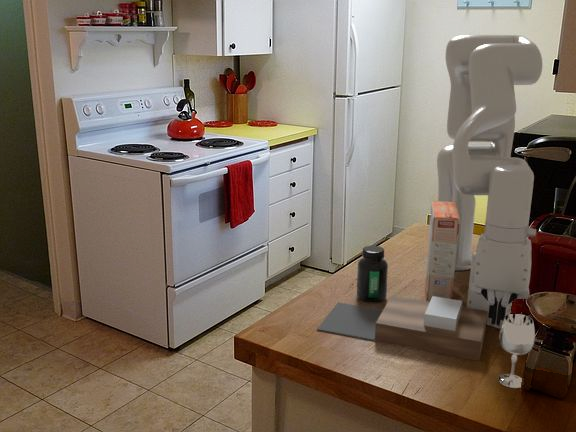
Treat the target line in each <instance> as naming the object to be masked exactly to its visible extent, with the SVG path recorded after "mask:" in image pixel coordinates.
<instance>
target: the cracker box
mask: <svg viewBox="0 0 576 432" xmlns="http://www.w3.org/2000/svg"><path fill="white" fill-rule="evenodd" d="M429 218H430V220H429V232H428V234H429V235H428V242H427V243H428V244H427V255H426V268H425V270H426V271H425V279H424V283H425V284H424V285H425V301H428V302H430V301H431V298H432V296H435V297H441V298H448V299H453V290H454V281H455V280H454V279H455V271H456V270H455V261H456V251H457V240H458V231H459V221H460V219H459V215H458V211H457V206H456V203H454V202H439V201H438V200H437V201H436V200H434V201H433V200H432V201H431V205H430V217H429Z"/></svg>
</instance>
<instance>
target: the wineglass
mask: <svg viewBox="0 0 576 432" xmlns="http://www.w3.org/2000/svg"><path fill="white" fill-rule="evenodd" d="M498 340H499V344H500V346H501V348H502V349H503V350H504V351H505V352H507V353H509V354H511V357H510V360H511V369H510V370H511V372H510V373H502V374H501V375H500V374H499V376H498V378H497V381H498V382H499V384H501V385H502V386H504V387H507V388H512V389H521V388H522V387H521V382H522V379H523V378H522V377H521V376H519V375H516V374H515V367H516V363H517V362H518V356H522V355H526V354H528V353H530V352H531V350H532V349H533V348H534V345H535V343H536V341H535V340H536V329H535V324H534V320H533V318H531V317H530V316H528V315H525V314H522V313H521V314H508V315H506V316H505V318H504V320H503V322H502V325H501V328H500V329H499V333H498ZM532 347H533V348H532Z"/></svg>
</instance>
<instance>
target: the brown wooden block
mask: <svg viewBox="0 0 576 432" xmlns="http://www.w3.org/2000/svg"><path fill="white" fill-rule="evenodd" d="M429 303H430V302H428V301H426V300H421V299H415V298H414V299H413V298H409V297H408V298H407V297H402V296H398V295H397V296H395V295H391V297H390V298H389V300H388V301H387V304H386V305H385V306H384V309H382V310H383V311H382V313H381V315H380V316H379V318H378V320H377V322H376V326H375V340H374V342H379V343H382V344H388V345H393V346H399V347H403V348H410V349H415V350H419V351H425V352H430V353H436V354H440V355H446V356H450V357H451V356H452V357H457V358H462V359H468V360H473V361H476V362H477V361H478V362H480V359H481V353H482V349H483V344H484V339H485V334H486V331H487V324H486V323H487V314H488V311H484V310H478V309H472V308H467V307H465V306H462V309H461V314H460V317H459V321H458V324H457V327H456V330H455V331H452V330H446V329H441V328H435V327H429V326H424V316H425V312H426V310H427V307H428V305H429Z"/></svg>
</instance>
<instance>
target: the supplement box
mask: <svg viewBox="0 0 576 432" xmlns="http://www.w3.org/2000/svg"><path fill="white" fill-rule="evenodd" d="M475 255H476V251H474V252H471V256H472V260H471V269H469V270H470V272H469V283H468V290H467V291H468V292H467V301H466V308H472V309H478V310H484V311H488V314H487V323H486V326H490V327H493V328H495V329H499V330H500V328H501V325H502V322H503V320H501V322H500V326H498V325H496V322H495V324H494V325H492V324H491V321H492V318H488V315H489V305H490V304H489V303H488V301H487V300H486V299H485V298H484V296H483V295H482V294H480V293H477V292H474V291H472V290H471V289H470V286H471V284H472V279H473V268H474V261H475ZM495 293H496V298H497V301H498V304H499V302H500V299H501V298H502V297H503V293H504V292H501V291H495ZM511 306H512V302H511V303H510V304H508V306H507V307H506V312H505V316H506V315H508V314H510V313H511ZM497 311H498V307H497ZM496 320H497V316H496Z"/></svg>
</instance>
